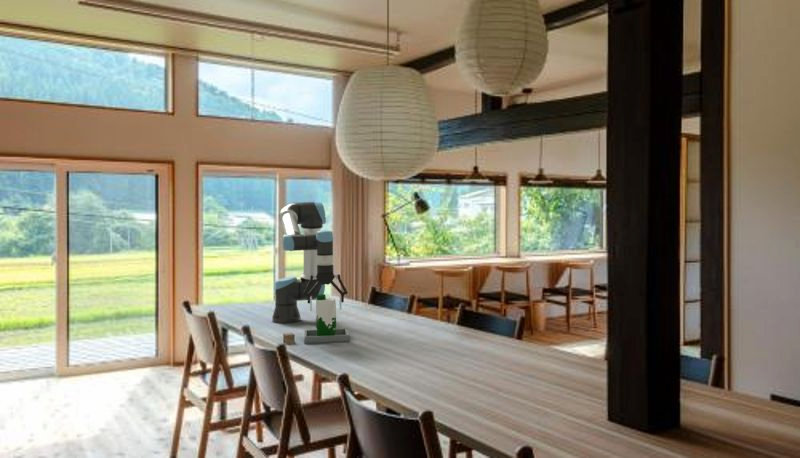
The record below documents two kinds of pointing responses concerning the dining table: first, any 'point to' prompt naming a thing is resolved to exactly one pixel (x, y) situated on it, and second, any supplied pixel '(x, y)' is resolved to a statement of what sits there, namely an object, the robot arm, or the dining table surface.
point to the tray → (326, 337)
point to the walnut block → (288, 338)
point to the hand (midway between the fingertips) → (325, 309)
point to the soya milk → (325, 315)
